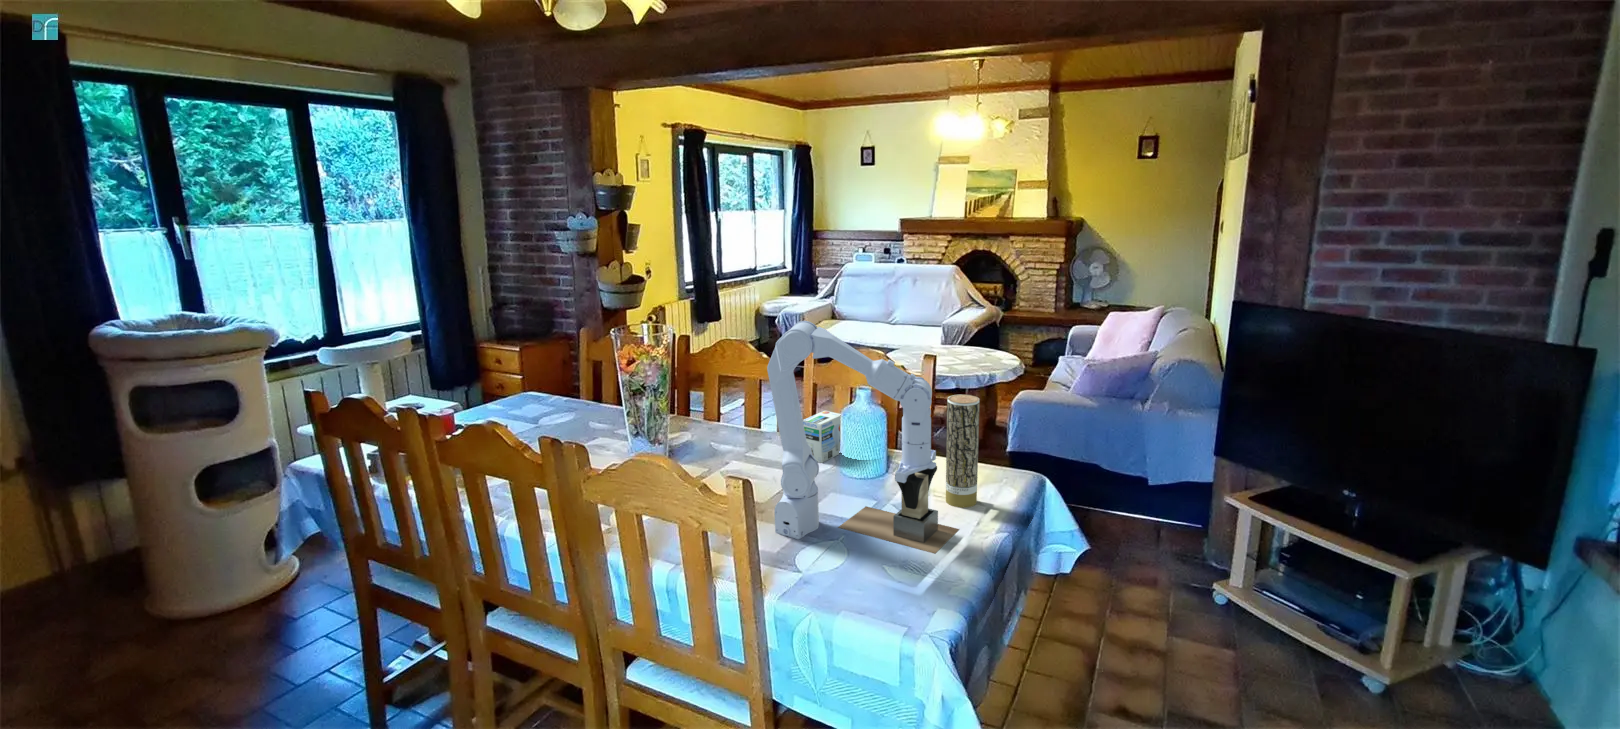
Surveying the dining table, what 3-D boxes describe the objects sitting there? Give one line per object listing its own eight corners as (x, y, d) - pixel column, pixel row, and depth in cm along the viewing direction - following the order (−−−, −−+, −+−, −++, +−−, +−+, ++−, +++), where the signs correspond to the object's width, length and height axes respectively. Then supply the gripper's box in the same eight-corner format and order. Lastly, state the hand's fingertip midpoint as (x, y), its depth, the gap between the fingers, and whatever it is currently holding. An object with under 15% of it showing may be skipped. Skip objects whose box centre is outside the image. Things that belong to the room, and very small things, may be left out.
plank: (935, 559, 143) (935, 553, 143) (837, 532, 155) (837, 527, 155) (959, 534, 153) (959, 529, 153) (866, 511, 165) (865, 506, 165)
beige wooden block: (919, 518, 148) (919, 481, 146) (901, 514, 150) (901, 477, 149) (928, 511, 151) (928, 474, 150) (910, 507, 154) (910, 471, 152)
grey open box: (923, 543, 147) (923, 523, 146) (893, 535, 151) (893, 515, 150) (937, 530, 153) (938, 510, 152) (908, 522, 156) (908, 503, 155)
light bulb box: (822, 463, 194) (821, 424, 191) (801, 458, 198) (800, 419, 195) (845, 451, 202) (844, 413, 199) (825, 446, 206) (824, 409, 203)
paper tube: (976, 513, 162) (979, 403, 156) (945, 511, 164) (947, 402, 158) (976, 500, 169) (979, 394, 163) (945, 498, 170) (947, 394, 164)
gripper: (918, 454, 139) (918, 521, 142) (950, 432, 151) (948, 494, 154) (885, 448, 143) (885, 513, 146) (918, 427, 155) (917, 488, 158)
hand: (916, 503), depth 150 cm, fingers closed on beige wooden block, 4 cm apart
